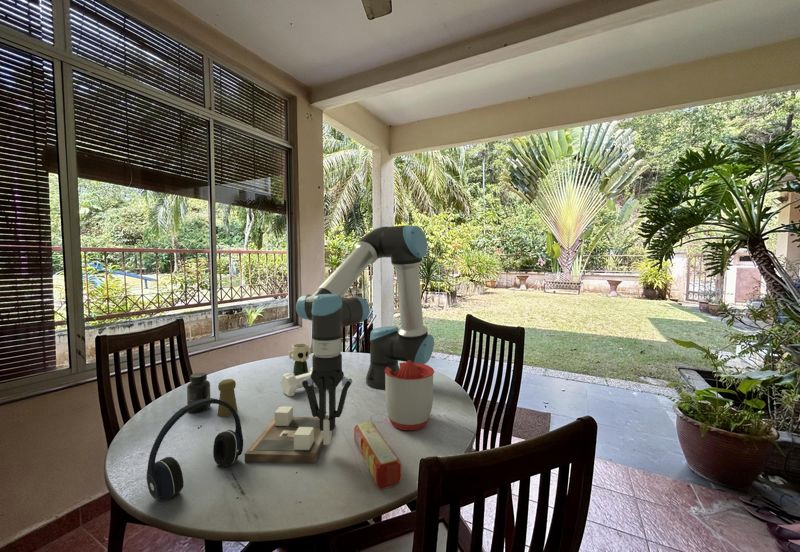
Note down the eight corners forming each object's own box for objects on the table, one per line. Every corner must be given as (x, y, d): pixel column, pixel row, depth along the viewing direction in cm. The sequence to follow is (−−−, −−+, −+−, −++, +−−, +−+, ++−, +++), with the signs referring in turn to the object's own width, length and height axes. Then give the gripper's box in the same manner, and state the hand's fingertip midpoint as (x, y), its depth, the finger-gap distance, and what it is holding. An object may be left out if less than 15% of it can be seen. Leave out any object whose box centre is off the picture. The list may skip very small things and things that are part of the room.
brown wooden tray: (333, 424, 104) (333, 417, 104) (314, 463, 84) (314, 454, 84) (276, 422, 105) (276, 415, 105) (244, 461, 85) (244, 452, 85)
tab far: (292, 419, 103) (292, 406, 102) (288, 425, 99) (288, 412, 99) (280, 419, 103) (280, 406, 103) (274, 425, 99) (274, 412, 99)
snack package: (352, 444, 94) (352, 420, 93) (375, 439, 96) (375, 416, 96) (375, 493, 74) (375, 464, 74) (403, 486, 76) (403, 457, 76)
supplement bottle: (213, 409, 114) (212, 374, 114) (190, 415, 109) (189, 379, 109) (206, 402, 119) (206, 369, 118) (184, 409, 114) (183, 374, 113)
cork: (241, 410, 114) (241, 378, 113) (227, 418, 108) (226, 384, 107) (228, 407, 116) (227, 376, 115) (213, 415, 110) (212, 382, 109)
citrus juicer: (404, 405, 118) (405, 349, 117) (443, 422, 106) (444, 360, 105) (370, 419, 107) (370, 358, 106) (409, 441, 95) (410, 372, 94)
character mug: (293, 379, 143) (293, 349, 142) (285, 375, 148) (285, 346, 147) (315, 372, 151) (315, 344, 150) (307, 369, 156) (307, 341, 155)
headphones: (231, 452, 89) (230, 385, 88) (247, 461, 85) (246, 390, 84) (143, 498, 72) (140, 415, 71) (158, 511, 68) (155, 424, 67)
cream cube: (313, 441, 90) (313, 427, 90) (309, 450, 86) (309, 435, 86) (299, 441, 91) (299, 426, 90) (294, 449, 87) (293, 434, 86)
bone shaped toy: (290, 400, 123) (290, 379, 122) (279, 391, 129) (279, 371, 128) (325, 389, 134) (326, 369, 133) (313, 381, 140) (314, 362, 139)
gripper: (297, 357, 83) (298, 449, 85) (349, 358, 83) (349, 450, 84) (306, 349, 91) (307, 433, 92) (354, 350, 90) (354, 434, 92)
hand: (327, 441), depth 88 cm, fingers closed
